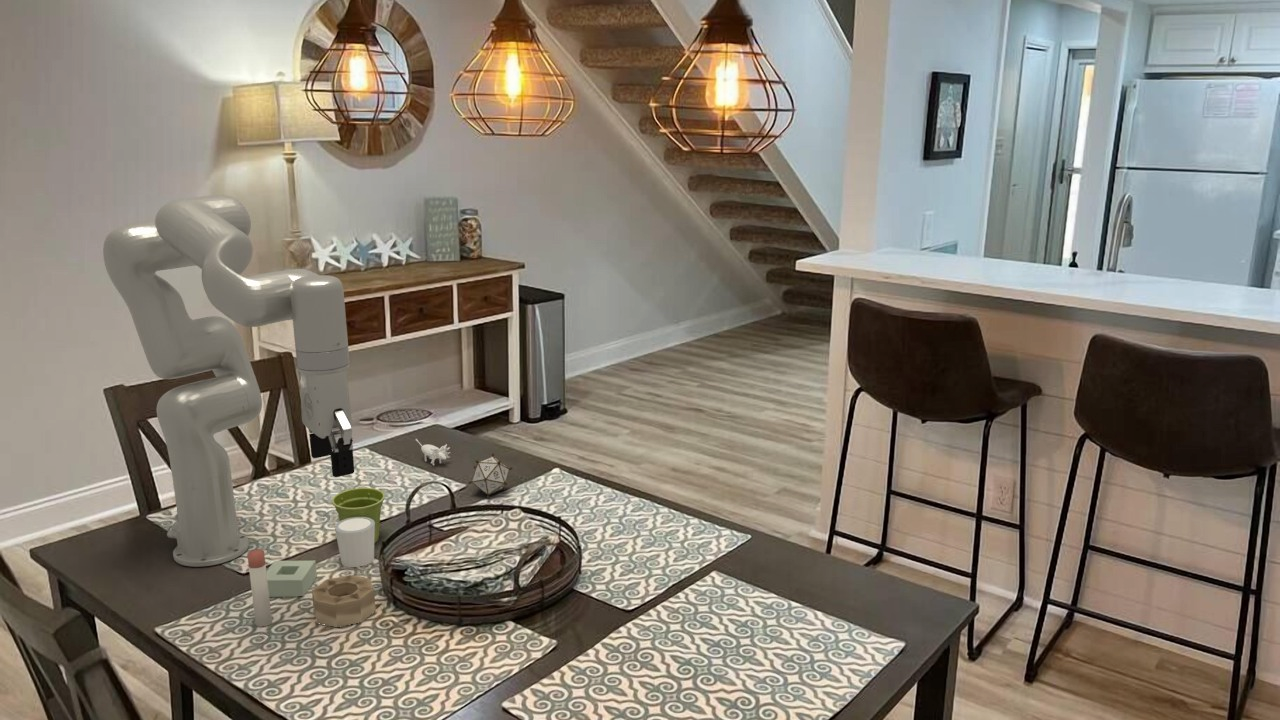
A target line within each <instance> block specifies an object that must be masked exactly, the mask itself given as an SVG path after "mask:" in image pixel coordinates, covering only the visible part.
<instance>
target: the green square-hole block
mask: <svg viewBox="0 0 1280 720" xmlns="http://www.w3.org/2000/svg"><path fill="white" fill-rule="evenodd" d="M316 563H317V561H316V560H274V561H273V562H272V564H271V565H270V566H269V567H268V569H266V573H267V582H268V590H269V598H282V597H283V598H284V597H285V598H296V597H297V596H304V597H305V596H306V594H307V592H308V591H309V589H310V588H311V586H312V585H313V583H314V582H315V580H316V579H317V577H318V572H317V570H318V569H317V564H316ZM307 590H308V591H307ZM305 593H306V594H305ZM297 598H298V597H297Z"/></svg>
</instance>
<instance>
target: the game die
mask: <svg viewBox="0 0 1280 720" xmlns="http://www.w3.org/2000/svg"><path fill="white" fill-rule="evenodd" d="M475 463H476V465H473V469H475V470H474V472H473V476H472V479H471V480H469V481H468V482H467V484H469V485H471V484H473V485H474V486H476V487H477V488H478V489H479V490H481V491H482V492H483V493H485V494H486V498H487V500H488V499H489V498H490V495H492V494H494V493H496V492H498V491H500V490H502V491H503V492H506V488H505V486H508V485H509V484H508V482H507V479H508V476H509V472H510V471H511V470H513V469H514V467H508V466H507V465H505V464H504V463H503V462H502V461H501V460H500V459H497V458H496V457H495V453H494V452H492V453H491V456H490V457H488V458H485V459H482V460H480V461H479V460H478V459H475Z"/></svg>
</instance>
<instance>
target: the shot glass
mask: <svg viewBox="0 0 1280 720" xmlns="http://www.w3.org/2000/svg"><path fill="white" fill-rule="evenodd" d="M333 527H334V531H335V537H336V541H337V547H338V552H339V556H340V562H341V565H342V566H344V567H345V566H346V567H345V568H350V567H357V568H361V567H360V566H363V567H365V566H368V565H370V564H371V563H373V561H374V560H375V543H374V537H375V522H374V520H372V519H371V518H367V517H352V518H347V519H344V520H341V521H340V520H339V521H338V522H337V523H336V524H335V525H334V526H333ZM369 563H370V564H369ZM367 564H368V565H367ZM364 565H365V566H364Z"/></svg>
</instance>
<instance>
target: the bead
mask: <svg viewBox="0 0 1280 720" xmlns="http://www.w3.org/2000/svg"><path fill="white" fill-rule="evenodd" d="M311 593H312V594H311V595H312V596H311V597H312V604H313V605H312V606H313V614H314V617H316V618H315V621H316V620H317V621H316V624H317V623H320V624H325V625H330V626H334V627H333V628H335V627H340V626H344V627H347V626H346V625H349V626H352V625H351V624H353V625H355V624H354V623H358V624H360V623H359V622H362V623H363V622H364V621H365V620H364V619H366V618H367V617H368V618H370V615H371V614H372V615H373V614H374V613H375V612H376V611H377V610H376V608H377V607H376V598H375V587H374V585H373V583H372V581H371V579H370V578H369V577H364V576H357V575H351V574H349V575H343V576H338V577H333V578H328V579H326V580H323V582H321V583H320V584H318V585H317V586H315V587H314V588H313V589H312V590H311ZM374 611H375V612H374ZM372 615H371V616H372ZM368 618H367V619H368ZM367 619H366V620H367ZM363 620H364V621H363ZM320 624H319V625H320ZM325 625H324V626H325ZM330 626H329V627H330ZM340 628H341V627H340Z"/></svg>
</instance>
